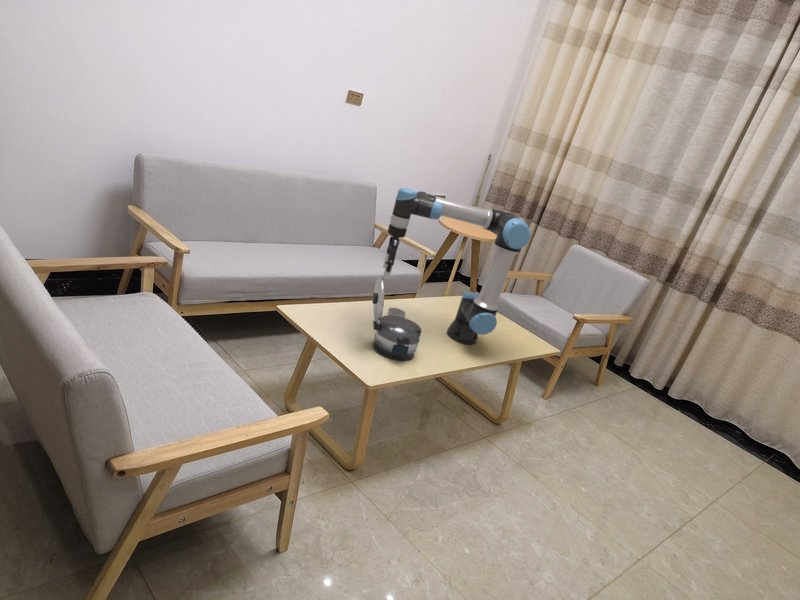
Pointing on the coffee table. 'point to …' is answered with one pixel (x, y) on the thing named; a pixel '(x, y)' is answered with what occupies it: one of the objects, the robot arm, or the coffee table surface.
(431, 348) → the coffee table surface
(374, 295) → the lid
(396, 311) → the cup
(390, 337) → the cooker
